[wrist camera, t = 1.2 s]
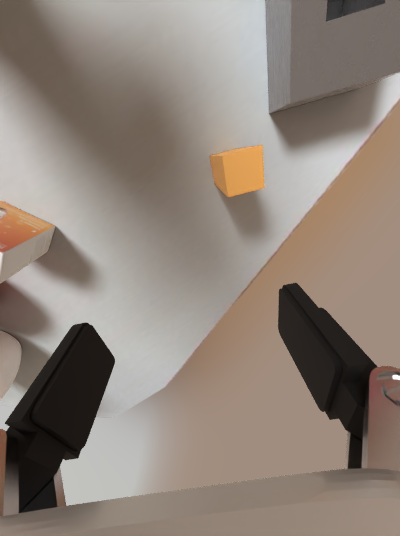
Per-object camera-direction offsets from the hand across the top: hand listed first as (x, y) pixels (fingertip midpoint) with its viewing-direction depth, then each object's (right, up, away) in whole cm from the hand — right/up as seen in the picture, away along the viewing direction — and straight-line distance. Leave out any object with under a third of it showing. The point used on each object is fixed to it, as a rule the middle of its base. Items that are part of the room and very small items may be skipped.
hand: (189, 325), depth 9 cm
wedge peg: (+4, +18, +19) cm, 27 cm away
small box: (-28, +10, +22) cm, 37 cm away
